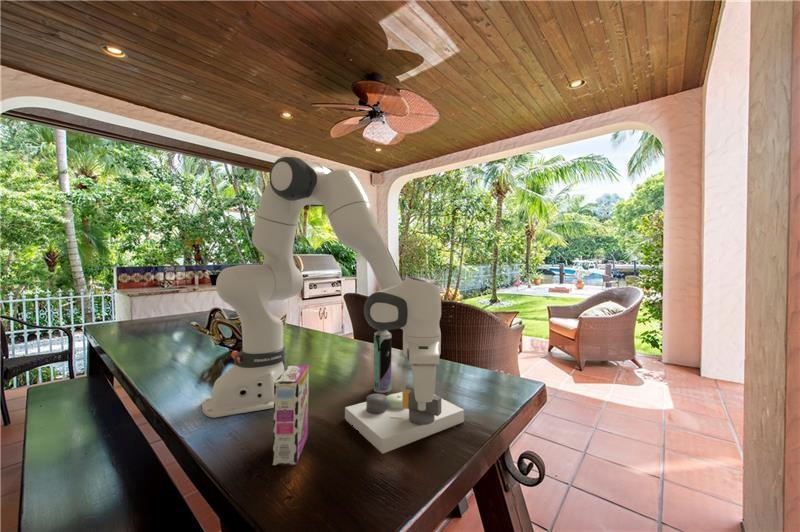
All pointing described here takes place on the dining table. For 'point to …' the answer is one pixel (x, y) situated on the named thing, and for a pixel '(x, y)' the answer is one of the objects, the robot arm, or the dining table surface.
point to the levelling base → (396, 420)
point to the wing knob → (421, 416)
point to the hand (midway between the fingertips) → (421, 404)
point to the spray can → (382, 361)
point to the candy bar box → (290, 415)
